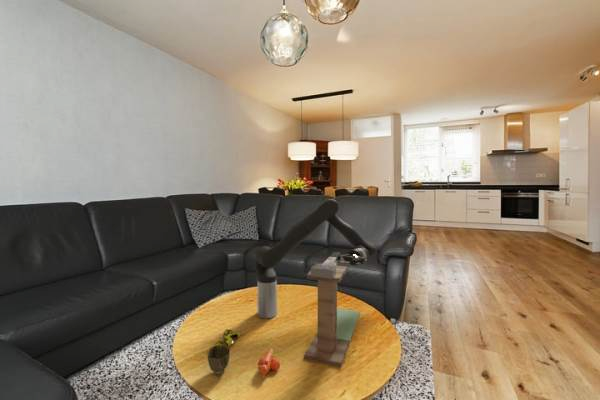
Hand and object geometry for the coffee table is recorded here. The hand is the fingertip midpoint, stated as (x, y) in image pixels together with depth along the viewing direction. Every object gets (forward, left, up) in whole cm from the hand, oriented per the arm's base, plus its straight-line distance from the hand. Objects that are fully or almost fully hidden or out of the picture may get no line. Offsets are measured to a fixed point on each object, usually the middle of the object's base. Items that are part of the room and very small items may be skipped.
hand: (344, 261), depth 126 cm
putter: (-11, -12, +2) cm, 17 cm away
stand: (-13, -15, -30) cm, 36 cm away
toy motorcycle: (-50, +1, -30) cm, 59 cm away
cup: (-53, -17, -30) cm, 64 cm away
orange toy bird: (-36, -20, -30) cm, 51 cm away
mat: (0, +3, -30) cm, 30 cm away
